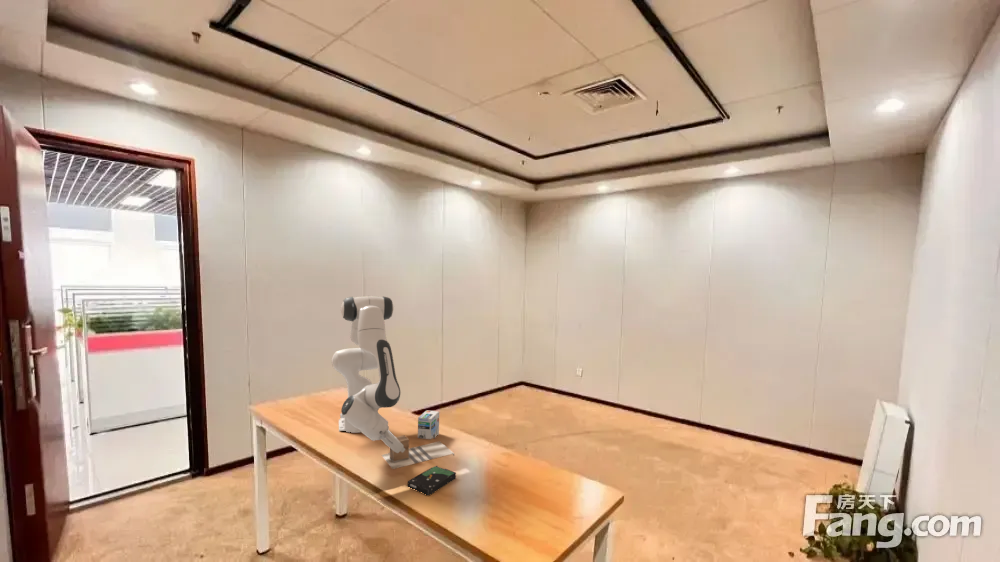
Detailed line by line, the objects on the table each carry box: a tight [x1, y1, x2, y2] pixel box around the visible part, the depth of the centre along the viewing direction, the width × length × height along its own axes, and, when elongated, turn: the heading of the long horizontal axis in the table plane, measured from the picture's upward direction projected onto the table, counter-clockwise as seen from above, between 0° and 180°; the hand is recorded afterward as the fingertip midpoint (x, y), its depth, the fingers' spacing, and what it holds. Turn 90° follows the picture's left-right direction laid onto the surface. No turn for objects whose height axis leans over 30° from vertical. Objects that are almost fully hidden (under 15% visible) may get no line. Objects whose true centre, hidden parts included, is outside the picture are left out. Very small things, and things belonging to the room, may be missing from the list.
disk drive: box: [407, 465, 457, 496], centre depth 146 cm, size 10×3×15 cm
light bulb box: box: [417, 409, 440, 440], centre depth 186 cm, size 11×7×11 cm, turn 168°
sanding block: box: [389, 434, 410, 463], centre depth 160 cm, size 5×6×8 cm
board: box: [381, 441, 455, 470], centre depth 165 cm, size 14×26×2 cm, turn 124°
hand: (400, 447), depth 161 cm, fingers closed on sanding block, 5 cm apart
